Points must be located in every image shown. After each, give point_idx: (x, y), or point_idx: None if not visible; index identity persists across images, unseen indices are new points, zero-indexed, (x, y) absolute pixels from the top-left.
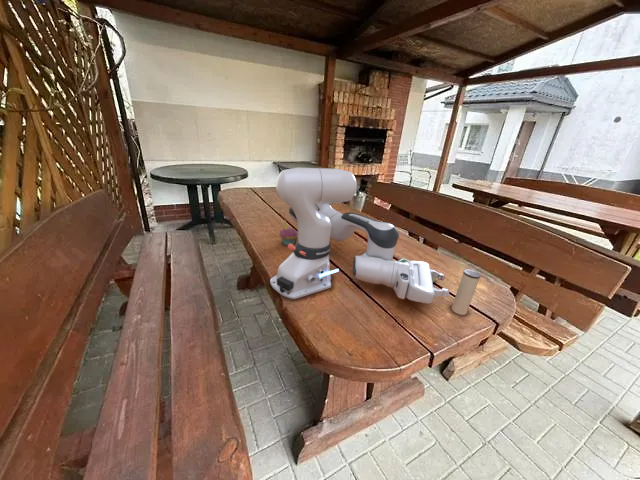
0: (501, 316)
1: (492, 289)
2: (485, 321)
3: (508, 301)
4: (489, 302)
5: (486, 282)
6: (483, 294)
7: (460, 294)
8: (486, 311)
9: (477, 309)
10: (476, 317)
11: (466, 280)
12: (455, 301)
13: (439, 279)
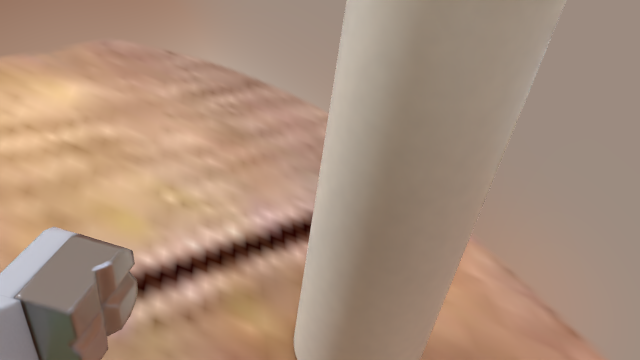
0: None
1: (105, 69)
2: None
3: (223, 71)
4: (233, 133)
5: (28, 58)
6: (147, 121)
7: (448, 250)
8: None
9: None
10: None
11: (535, 50)
12: (389, 337)
13: (100, 354)
